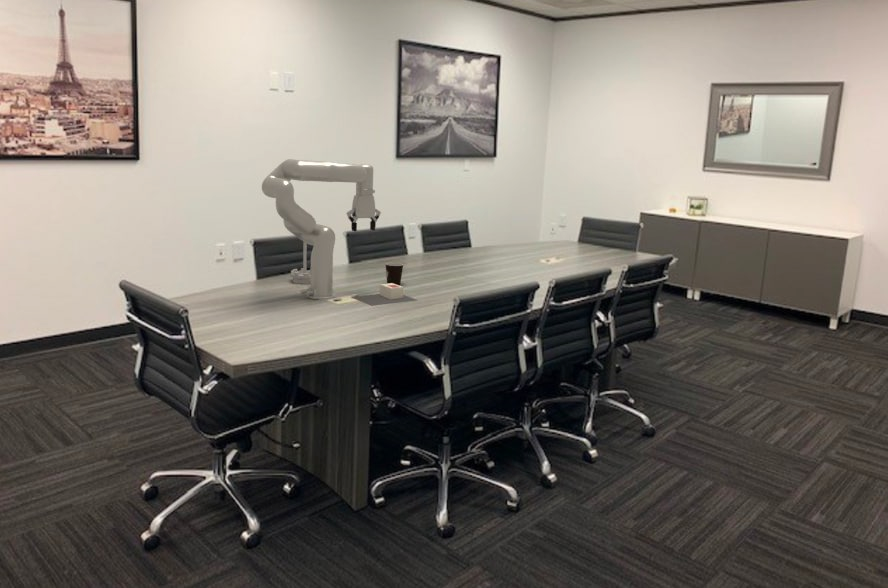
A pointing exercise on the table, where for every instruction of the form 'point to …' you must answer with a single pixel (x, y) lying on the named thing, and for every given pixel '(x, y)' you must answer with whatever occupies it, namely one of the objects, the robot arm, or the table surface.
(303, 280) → the flag stand
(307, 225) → the robot arm
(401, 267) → the coffee mug
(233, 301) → the table surface
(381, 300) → the mat
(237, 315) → the table surface
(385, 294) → the card box
